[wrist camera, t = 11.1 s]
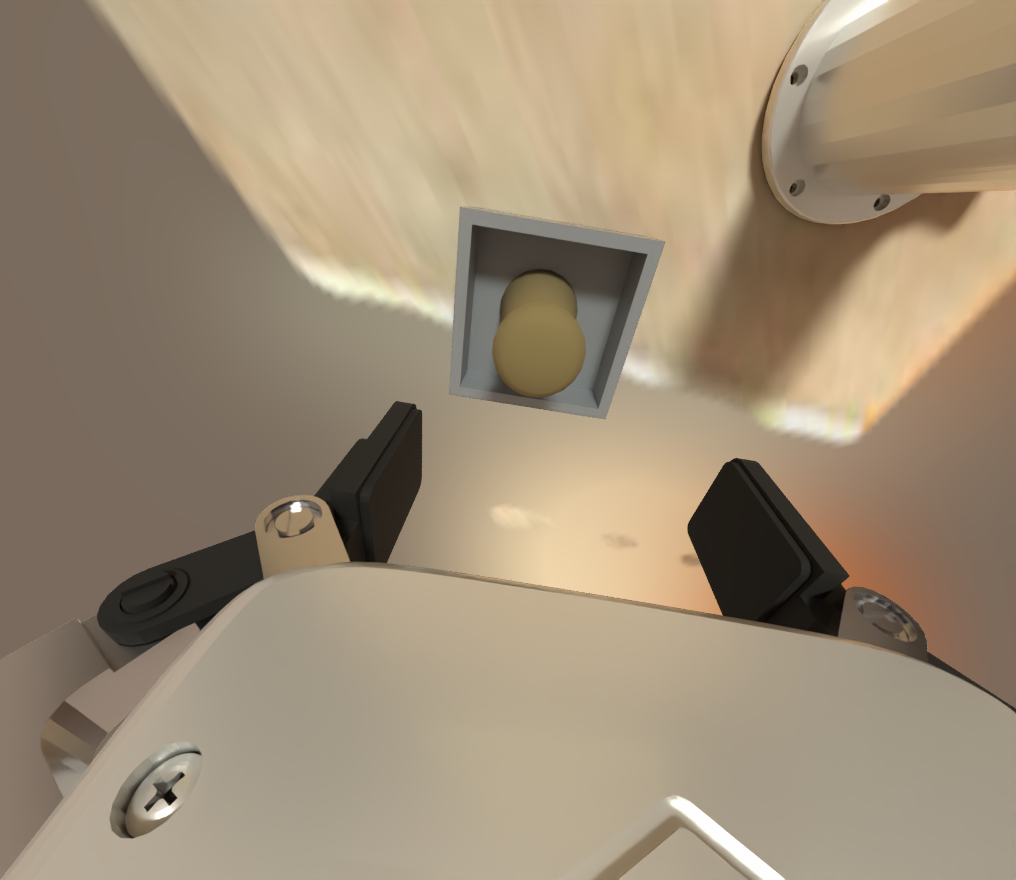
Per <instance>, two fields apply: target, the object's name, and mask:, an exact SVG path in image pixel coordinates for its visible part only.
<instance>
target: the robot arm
mask: <svg viewBox="0 0 1016 880" xmlns="http://www.w3.org/2000/svg"><path fill="white" fill-rule="evenodd" d="M791 75H793V77H794V81H793V83H792V85H791V82H790V78H791ZM762 162H763V166H764V171H765V175H766V179H767V182H768V184H769V186H770V188H771V190H772V192H773V194H774V196H775V198H776V199H777V200H778V201H779V202H780V203H781V204H782V206H783V207H784V208H785V209H786V210H788V211H789V212H791V213H792V214H794V215H796V216H797V217H799V218H801V219H804V220H808V221H811V222H814V223H823V224H851V223H856V222H861V221H865V220H869V219H873V218H876V217H878V216H881V215H883V214H886V213H888V212H890V211H893V210H895V209H897V208H899V207H901V206H902V205H904V204H906V203H908V202H909V201H911V200H913V199H915V198H916V197H918V196H920V195H921V194H922V193H950V192H980V191H1010V190H1016V0H823V1H822V3H821V4H820V5H819V7H818V8H817V9H816V11H815V12H814V13H813V15H812V16H811V17H810V19H809V20H808V21H807V23H806V24H805V25H804V27H803V28H802V30H801V31H800V33H799V35H798V37H797V38H796V40H795V42H794V43H793V45H792V47H791V49H790V50H789V52H788V54H787V55H786V57H785V60H784V62H783V64H782V67H781V69H780V71H779V73H778V76H777V78H776V80H775V83H774V85H773V88H772V92H771V95H770V98H769V102H768V105H767V109H766V112H765V119H764V126H763V133H762ZM791 185H793V188H792V190H791V192H789V190H790V187H791ZM421 479H422V411H421V410H417V409H416V405H415V404H410V403H404V402H399V401H396V402H395V403H394V404H393V405H392V407H391V408H390V410H389V411H388V412H387V413H386V415H385V416H384V417H383V419H382V420H381V421H380V423H379V424H378V425H377V427H376V428H375V429H374V431H373V432H372V433H371V435H370V436H369V437H368V439H359V440H358V441H357V442H356V443H355V445H354V446H353V447H352V448H351V450H350V451H349V452H348V454H347V455H346V456H345V457H344V459H343V460H342V461H341V463H340V464H339V465H338V466H337V468H336V469H335V470H334V471H333V473H332V474H331V476H330V477H329V478H328V479H327V480H326V482H325V483H324V484H323V486H322V487H321V488H320V490H319V491H318V492H317V493H316V494H315V496H310V495H297V496H291V497H287V498H284V499H281V500H279V501H276V502H275V503H273V504H271V505H270V506H268V507H267V508H266V509H265V510H264V511H263V512H261V513H260V515H259V516H258V518H257V520H256V523H255V531H252V532H250V533H247V534H244V535H241V536H238V537H235V538H233V539H230V540H227V541H224V542H222V543H219V544H216V545H213V546H211V547H208V548H205V549H202V550H199V551H197V552H194V553H191V554H188V555H186V556H183V557H180V558H177V559H175V560H172V561H169V562H166V563H163V564H160V565H158V566H155V567H152V568H149V569H147V570H145V571H143V572H140V573H138V574H136V575H134V576H132V577H131V578H129V579H127V580H126V581H125V582H123V583H121V584H120V585H119V586H118V587H116V588H115V589H114V590H113V591H112V592H111V593H110V594H109V595H108V596H107V597H106V599H105V600H104V601H103V603H102V604H101V606H100V608H99V611H98V613H97V614H96V615H94V616H92V617H90V618H89V619H87V620H85V621H83V622H80V621H79V620H78V619H77V618H75V619H73V620H71V621H70V622H68V623H66V624H64V625H62V626H60V627H59V628H57V629H55V630H53V631H52V632H50V633H48V634H46V635H44V636H42V637H40V638H39V639H37V640H35V641H33V642H32V643H30V644H28V645H26V646H24V647H22V648H21V649H19V650H17V651H15V652H13V653H11V654H10V655H8V656H6V657H4V658H2V659H1V660H0V880H1016V709H1015V708H1014V707H1012V706H1011V705H1009V704H1008V703H1006V702H1005V701H1003V700H1001V699H1000V698H998V697H997V696H995V695H994V694H992V693H991V692H989V691H988V690H986V689H984V688H983V687H981V686H980V685H978V684H977V683H975V682H974V681H972V680H971V679H969V678H967V677H966V676H964V675H963V674H961V673H960V672H958V671H957V670H955V669H954V668H952V667H950V666H949V665H947V664H946V663H944V662H943V661H941V660H940V659H938V658H936V657H935V656H933V655H932V654H930V653H929V652H927V640H926V637H925V633H924V631H923V630H922V629H921V627H920V626H919V624H918V623H917V622H916V621H915V620H914V619H913V617H911V615H910V614H909V613H907V612H906V611H905V610H904V609H903V608H901V607H900V606H899V605H898V604H896V603H895V602H893V601H891V600H890V599H889V598H887V597H886V596H883V595H881V594H879V593H877V592H875V591H873V590H870V589H867V588H864V587H855V586H854V587H851V588H848V589H847V590H845V589H844V587H843V586H842V585H841V583H842V582H844V580H846V579H847V578H848V577H849V575H848V573H847V572H846V571H845V570H844V568H843V567H842V566H841V565H840V563H839V562H838V561H837V560H836V558H835V557H834V556H833V555H832V554H831V552H830V551H829V550H828V549H827V547H826V546H825V545H824V544H823V542H822V541H821V540H820V539H819V537H818V536H817V535H816V534H815V532H814V531H813V530H812V529H811V527H810V526H809V525H808V524H807V522H806V521H805V520H804V519H803V518H802V516H801V515H800V514H799V513H798V511H797V510H796V509H795V508H794V506H793V505H792V504H791V503H790V501H789V500H788V499H787V498H786V496H785V495H784V494H783V493H782V492H781V490H780V489H779V488H778V487H777V485H776V484H775V483H774V482H773V480H772V479H771V478H770V477H769V475H768V474H767V473H766V472H765V470H764V469H763V468H762V467H761V465H760V464H759V463H758V462H756V461H750V460H745V459H738V458H735V459H733V460H731V461H730V462H727V463H725V464H724V465H723V467H722V469H721V470H720V472H719V474H718V475H717V477H716V479H715V480H714V482H713V484H712V485H711V487H710V488H709V490H708V492H707V493H706V495H705V496H704V498H703V500H702V502H701V503H700V505H699V506H698V508H697V510H696V512H695V513H694V514H693V516H692V518H691V520H690V521H689V523H688V534H689V537H690V539H691V541H692V544H693V546H694V549H695V551H696V553H697V556H698V558H699V560H700V563H701V565H702V567H703V570H704V572H705V574H706V577H707V579H708V582H709V584H710V586H711V588H712V591H713V593H714V596H715V598H716V600H717V603H718V605H719V607H720V610H721V612H722V615H723V616H721V615H715V614H709V613H703V612H697V611H692V610H686V609H680V608H673V607H668V606H662V605H656V604H650V603H644V602H637V601H632V600H626V599H620V598H614V597H608V596H602V595H596V594H590V593H584V592H577V591H571V590H565V589H559V588H553V587H547V586H540V585H534V584H528V583H522V582H515V581H509V580H503V579H496V578H490V577H484V576H478V575H471V574H465V573H457V572H451V571H443V570H437V569H430V568H422V567H415V566H409V565H399V564H389V563H387V561H388V559H389V556H390V554H391V552H392V550H393V547H394V545H395V543H396V541H397V538H398V536H399V534H400V531H401V529H402V527H403V525H404V522H405V520H406V518H407V516H408V513H409V511H410V509H411V507H412V504H413V502H414V500H415V497H416V495H417V493H418V491H419V488H420V485H421ZM128 715H129V716H128ZM127 716H128V717H127ZM125 717H127V718H126V719H125V721H124V722H123V723H122V724H121V726H120V727H119V728H118V729H117V730H116V732H115V733H114V734H113V736H112V737H111V738H110V739H109V741H108V742H107V743H106V745H105V746H104V747H103V748H102V749H101V751H100V752H99V753H98V755H97V756H96V757H95V759H94V760H93V757H94V754H95V751H96V749H97V748H98V746H99V745H100V744H101V742H102V741H103V739H104V738H105V737H106V735H107V734H108V733H109V732H110V731H111V730H112V729H113V728H114V727H115V726H116V725H117V724H118V723H120V722H121V721H122V720H123V719H124V718H125ZM199 754H201V755H202V757H201V756H200V755H199ZM92 760H93V761H92ZM181 771H182V772H183V773H182V774H181Z"/></svg>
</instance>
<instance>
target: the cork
mask: <svg viewBox="0 0 1016 880" xmlns="http://www.w3.org/2000/svg"><path fill="white" fill-rule="evenodd" d="M577 312H578V309H577V298H576V295H575V293H574V291H573V288H572V286H571V285H570V284H569V283H568V282H567V281H566V279H565V278H564V277H563V276H561V275H559V274H557V273H555V272H554V271H551V270H545V269H535V270H529V271H526V272H524V273H522V274H520V275H519V276H517V277H515V278H514V279H513V280H512V282H511V283H510V284H509V285H508V286H507V287H506V289H505V291H504V294H503V296H502V298H501V304H500V317H501V323H500V326H499V328H498V330H497V332H496V334H495V337H494V340H493V349H492V355H493V360H494V365H495V368H496V370H497V372H498V374H499V375H500V377H501V379H502V381H503V382H504V383H505V384H507V385H508V386H509V387H510V388H511V389H512V390H514V391H516V392H518V393H520V394H522V395H524V396H531V397H537V398H538V397H546V396H552V395H554V394H556V393H558V392H561V391H563V390H564V389H566V388H567V387H568V386H569V385H570V384H571V383H573V382H574V380H575V379H576V377H577V376H578V374H579V372H580V371H581V369H582V366H583V363H584V359H585V355H586V346H585V337H584V335H583V333H582V330H581V328H580V326H579V323H578V322H577V320H576V318H577Z"/></svg>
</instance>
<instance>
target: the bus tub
mask: <svg viewBox="0 0 1016 880" xmlns="http://www.w3.org/2000/svg"><path fill="white" fill-rule="evenodd" d="M664 244H665V242H664V241H661V240H657V239H654V238H650V237H646V236H640V235H634V234H629V233H623V232H617V231H611V230H605V229H599V228H593V227H587V226H582V225H576V224H570V223H564V222H558V221H552V220H546V219H540V218H534V217H529V216H523V215H517V214H511V213H505V212H499V211H493V210H487V209H482V208H476V207H460V216H459V233H458V251H457V268H456V285H455V303H454V320H453V339H452V355H451V373H450V390H449V394H450V395H456V396H462V397H469V398H475V399H481V400H488V401H494V402H500V403H507V404H513V405H519V406H525V407H532V408H538V409H544V410H550V411H557V412H563V413H570V414H575V415H581V416H588V417H594V418H601V419H606V416H607V413H608V410H609V407H610V404H611V401H612V398H613V395H614V392H615V389H616V386H617V383H618V380H619V378H620V375H621V372H622V369H623V366H624V363H625V360H626V357H627V354H628V351H629V348H630V345H631V342H632V339H633V336H634V333H635V330H636V327H637V324H638V321H639V318H640V315H641V312H642V309H643V306H644V303H645V301H646V298H647V295H648V292H649V289H650V286H651V283H652V280H653V277H654V274H655V271H656V268H657V265H658V262H659V259H660V256H661V253H662V250H663V247H664ZM535 269H545V270H551V271H554V272H555V273H557V274H559V275H561V276H563V277H564V278H565V279H566V281H567V282H568V283H569V284H570V285H571V286H572V288H573V291H574V293H575V295H576V298H577V309H578V312H577V318H576V320H577V322H578V323H579V326H580V328H581V330H582V333H583V335H584V337H585V346H586V355H585V359H584V363H583V366H582V369H581V371H580V372H579V374H578V376H577V377H576V379H575V380H574V382H573V383H571V384H570V385H569V386H568V387H567V388H566V389H564V390H563V391H561V392H558V393H556V394H554V395H552V396H546V397H538V398H537V397H531V396H524V395H522V394H520V393H518V392H516V391H514V390H512V389H511V388H510V387H509V386H508V385H507V384H505V383H504V382H503V381H502V379H501V377H500V375H499V374H498V372H497V370H496V368H495V365H494V360H493V355H492V349H493V340H494V337H495V334H496V332H497V330H498V328H499V326H500V323H501V317H500V304H501V298H502V296H503V294H504V291H505V289H506V287H507V286H508V285H509V284H510V283H511V282H512V280H513V279H514V278H515V277H517V276H519V275H520V274H522V273H524V272H526V271H529V270H535Z"/></svg>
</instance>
